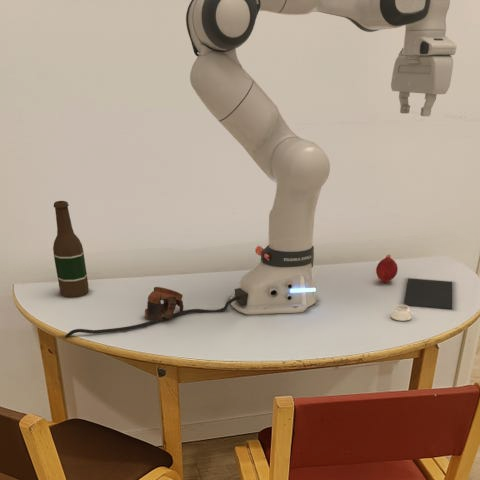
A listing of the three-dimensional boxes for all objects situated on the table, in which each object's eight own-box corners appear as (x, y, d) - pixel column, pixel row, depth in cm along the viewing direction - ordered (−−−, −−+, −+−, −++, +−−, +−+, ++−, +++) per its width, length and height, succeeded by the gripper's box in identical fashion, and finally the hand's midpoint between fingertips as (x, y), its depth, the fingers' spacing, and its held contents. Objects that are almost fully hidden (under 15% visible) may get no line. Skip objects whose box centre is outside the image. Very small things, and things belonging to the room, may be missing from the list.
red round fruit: (397, 286, 167) (401, 257, 163) (376, 286, 167) (380, 257, 163) (393, 279, 172) (397, 251, 168) (373, 279, 172) (376, 251, 168)
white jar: (391, 313, 149) (389, 320, 145) (393, 302, 148) (390, 308, 144) (412, 315, 148) (410, 323, 144) (414, 304, 146) (411, 311, 142)
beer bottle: (54, 295, 163) (38, 203, 150) (71, 287, 169) (57, 197, 156) (78, 299, 160) (63, 205, 148) (95, 290, 166) (82, 199, 154)
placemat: (452, 309, 151) (452, 308, 151) (403, 305, 154) (403, 304, 154) (451, 282, 169) (452, 281, 169) (408, 279, 172) (408, 278, 172)
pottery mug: (136, 316, 150) (145, 284, 150) (170, 326, 155) (178, 295, 155) (154, 319, 140) (163, 285, 140) (189, 330, 145) (198, 297, 145)
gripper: (388, 47, 144) (381, 112, 151) (435, 45, 127) (425, 118, 134) (411, 47, 145) (404, 111, 152) (461, 45, 129) (450, 117, 136)
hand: (414, 114), depth 143 cm, fingers open, 8 cm apart
